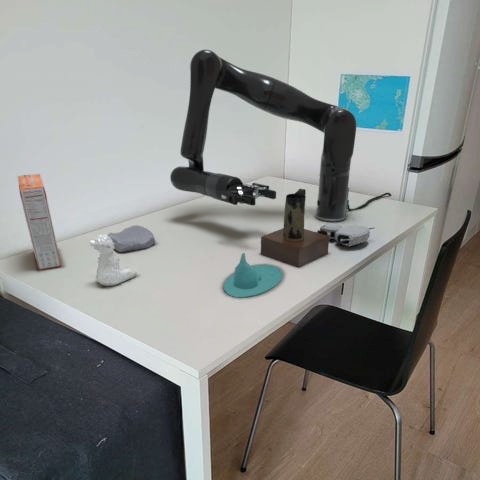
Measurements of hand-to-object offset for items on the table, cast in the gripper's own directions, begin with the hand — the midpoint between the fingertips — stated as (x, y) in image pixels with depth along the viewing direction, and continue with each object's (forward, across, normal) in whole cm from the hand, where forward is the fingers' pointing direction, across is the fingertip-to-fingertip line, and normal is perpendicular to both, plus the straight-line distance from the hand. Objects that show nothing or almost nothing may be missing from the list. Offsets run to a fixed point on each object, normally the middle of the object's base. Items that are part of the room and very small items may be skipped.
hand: (265, 198), depth 132 cm
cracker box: (-34, -48, +13) cm, 61 cm away
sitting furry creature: (-10, -44, +13) cm, 47 cm away
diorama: (+14, -20, +13) cm, 28 cm away
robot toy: (+15, +17, +13) cm, 26 cm away
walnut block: (+11, 0, +13) cm, 17 cm away
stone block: (-26, -27, +13) cm, 40 cm away
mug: (+11, 0, +8) cm, 14 cm away
